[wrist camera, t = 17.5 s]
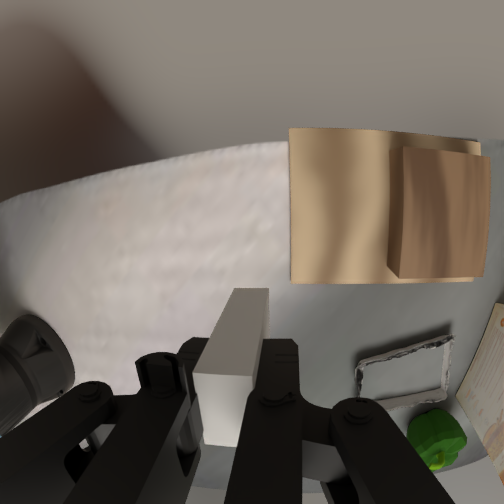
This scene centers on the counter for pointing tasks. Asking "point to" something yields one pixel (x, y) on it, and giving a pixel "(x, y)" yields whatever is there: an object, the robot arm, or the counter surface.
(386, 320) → the counter surface
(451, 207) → the walnut slab
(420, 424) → the bell pepper
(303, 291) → the counter surface
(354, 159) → the light wood board
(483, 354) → the coffeecake box
